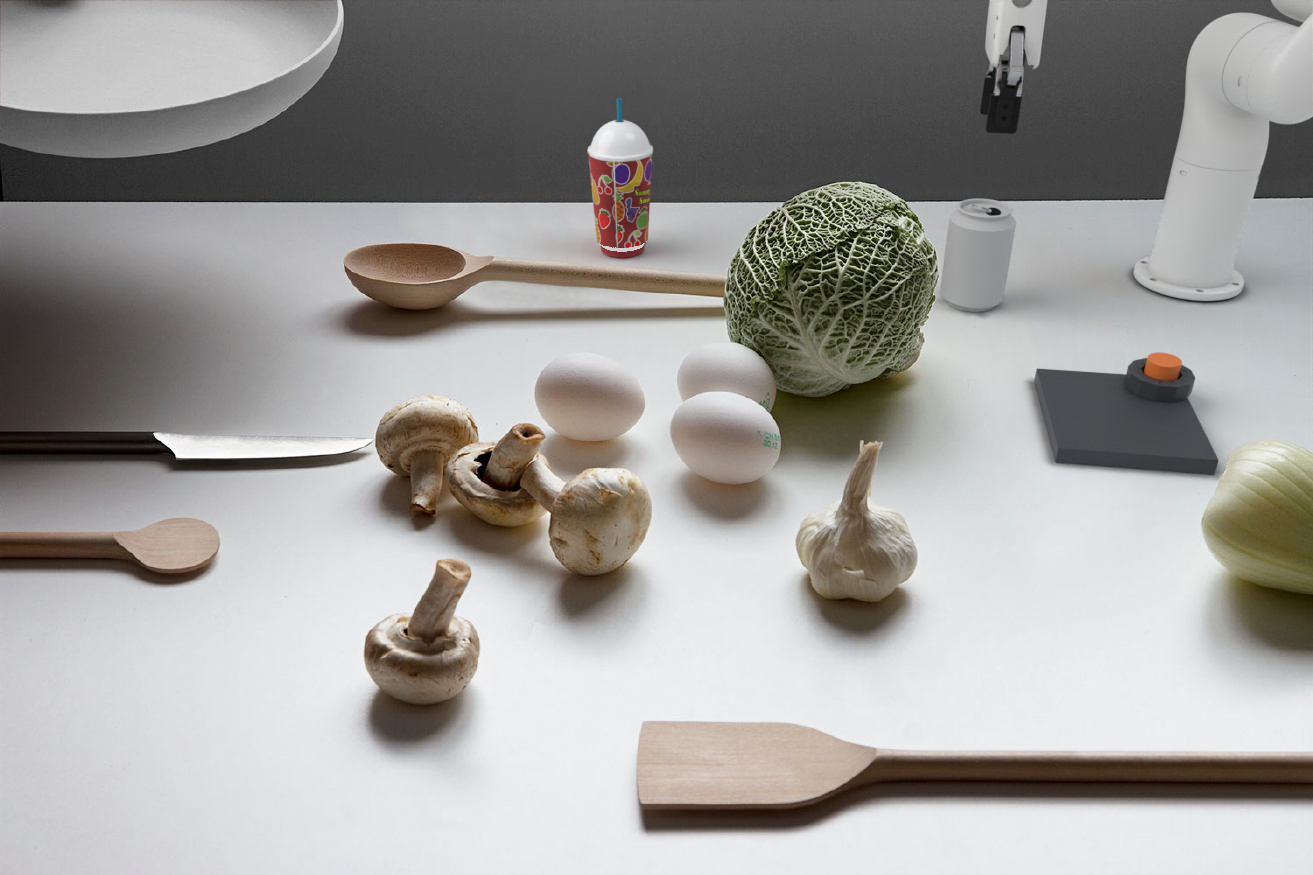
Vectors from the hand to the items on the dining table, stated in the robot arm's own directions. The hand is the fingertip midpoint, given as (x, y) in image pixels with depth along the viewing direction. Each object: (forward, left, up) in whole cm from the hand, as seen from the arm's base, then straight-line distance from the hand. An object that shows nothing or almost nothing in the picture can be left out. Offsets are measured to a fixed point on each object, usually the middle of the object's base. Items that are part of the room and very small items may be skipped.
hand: (997, 121), depth 125 cm
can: (0, 0, -22) cm, 22 cm away
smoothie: (-10, -44, -22) cm, 51 cm away
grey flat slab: (+28, +12, -22) cm, 37 cm away
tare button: (+23, +16, -19) cm, 34 cm away
